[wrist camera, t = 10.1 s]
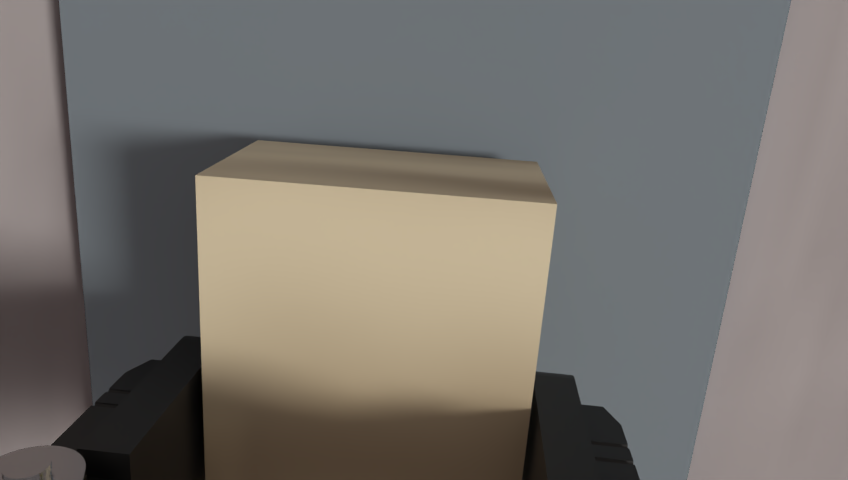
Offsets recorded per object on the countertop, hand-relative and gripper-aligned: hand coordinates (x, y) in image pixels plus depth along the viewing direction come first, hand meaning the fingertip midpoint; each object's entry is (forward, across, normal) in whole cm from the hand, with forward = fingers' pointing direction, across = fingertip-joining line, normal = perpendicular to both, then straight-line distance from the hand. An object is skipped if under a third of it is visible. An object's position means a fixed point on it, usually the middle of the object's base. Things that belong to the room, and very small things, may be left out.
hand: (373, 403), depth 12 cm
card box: (+1, 0, 0) cm, 1 cm away
